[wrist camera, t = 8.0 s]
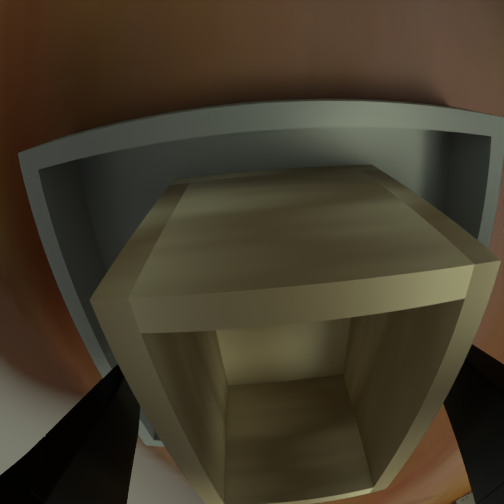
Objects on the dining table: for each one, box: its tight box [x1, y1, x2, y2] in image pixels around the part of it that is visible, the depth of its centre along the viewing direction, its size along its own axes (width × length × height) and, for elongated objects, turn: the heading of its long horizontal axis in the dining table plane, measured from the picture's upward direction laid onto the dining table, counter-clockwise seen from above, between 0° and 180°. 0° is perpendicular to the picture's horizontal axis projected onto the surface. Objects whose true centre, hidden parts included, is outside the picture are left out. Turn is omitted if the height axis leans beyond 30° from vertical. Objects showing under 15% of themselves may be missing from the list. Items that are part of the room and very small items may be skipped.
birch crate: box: [90, 165, 501, 504], centre depth 9 cm, size 6×9×6 cm, turn 5°
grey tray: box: [18, 98, 504, 447], centre depth 11 cm, size 13×13×3 cm
